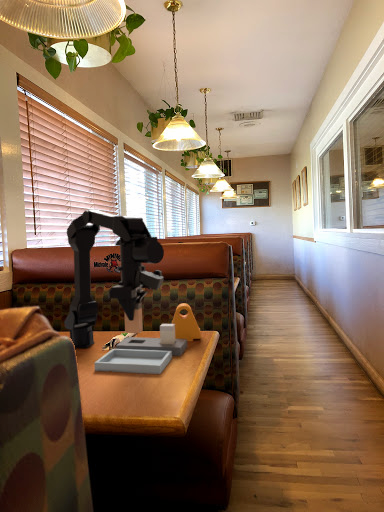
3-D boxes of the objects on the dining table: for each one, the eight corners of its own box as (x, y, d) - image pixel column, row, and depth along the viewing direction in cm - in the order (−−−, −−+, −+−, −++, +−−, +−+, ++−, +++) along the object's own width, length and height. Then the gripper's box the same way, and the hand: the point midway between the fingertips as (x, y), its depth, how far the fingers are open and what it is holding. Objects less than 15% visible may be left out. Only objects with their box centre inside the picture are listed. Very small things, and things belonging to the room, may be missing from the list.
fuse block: (116, 353, 113) (116, 345, 112) (127, 344, 121) (127, 337, 121) (180, 355, 109) (180, 347, 108) (187, 346, 117) (187, 338, 117)
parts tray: (94, 370, 98) (94, 362, 98) (113, 356, 110) (112, 348, 110) (160, 374, 95) (159, 365, 95) (171, 358, 106) (171, 351, 106)
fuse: (160, 351, 113) (159, 325, 113) (163, 349, 116) (162, 323, 115) (173, 352, 112) (172, 326, 112) (175, 349, 115) (174, 324, 114)
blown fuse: (125, 332, 101) (124, 303, 101) (128, 330, 104) (127, 301, 103) (139, 333, 100) (138, 304, 100) (142, 330, 103) (141, 302, 102)
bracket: (199, 335, 131) (198, 301, 130) (200, 340, 124) (199, 305, 123) (169, 336, 131) (168, 302, 130) (168, 342, 123) (167, 306, 123)
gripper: (149, 265, 90) (151, 328, 91) (168, 259, 108) (170, 312, 109) (106, 265, 92) (108, 327, 93) (132, 260, 111) (134, 311, 111)
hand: (133, 319), depth 102 cm, fingers closed on blown fuse, 3 cm apart
